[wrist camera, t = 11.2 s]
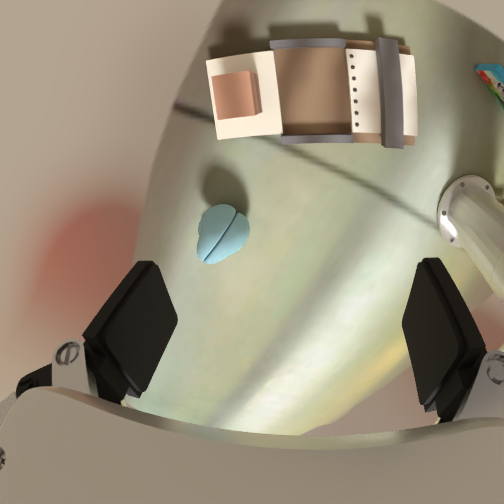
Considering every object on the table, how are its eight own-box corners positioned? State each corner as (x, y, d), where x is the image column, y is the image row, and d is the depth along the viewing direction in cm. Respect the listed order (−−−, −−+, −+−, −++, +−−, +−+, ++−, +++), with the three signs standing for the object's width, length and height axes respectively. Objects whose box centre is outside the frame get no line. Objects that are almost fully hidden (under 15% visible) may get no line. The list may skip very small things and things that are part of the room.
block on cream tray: (273, 51, 27) (267, 41, 21) (283, 132, 33) (279, 141, 27) (208, 61, 29) (188, 55, 23) (219, 138, 35) (202, 148, 29)
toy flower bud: (165, 271, 40) (201, 216, 33) (188, 238, 47) (223, 187, 40) (205, 297, 41) (249, 250, 34) (221, 261, 48) (262, 215, 41)
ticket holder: (405, 47, 24) (418, 43, 20) (410, 143, 31) (422, 150, 28) (271, 43, 28) (267, 36, 24) (283, 141, 35) (280, 148, 31)
